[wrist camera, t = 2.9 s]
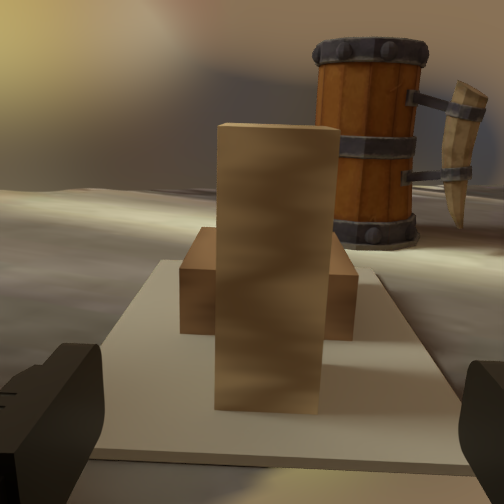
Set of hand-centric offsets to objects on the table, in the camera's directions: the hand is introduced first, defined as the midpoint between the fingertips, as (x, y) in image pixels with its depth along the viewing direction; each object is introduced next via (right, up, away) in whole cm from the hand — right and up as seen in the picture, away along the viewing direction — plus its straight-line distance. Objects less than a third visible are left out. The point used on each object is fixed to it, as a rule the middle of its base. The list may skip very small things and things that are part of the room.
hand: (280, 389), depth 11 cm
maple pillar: (0, -3, +13) cm, 13 cm away
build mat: (0, -2, +19) cm, 20 cm away
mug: (+13, +4, +43) cm, 45 cm away
